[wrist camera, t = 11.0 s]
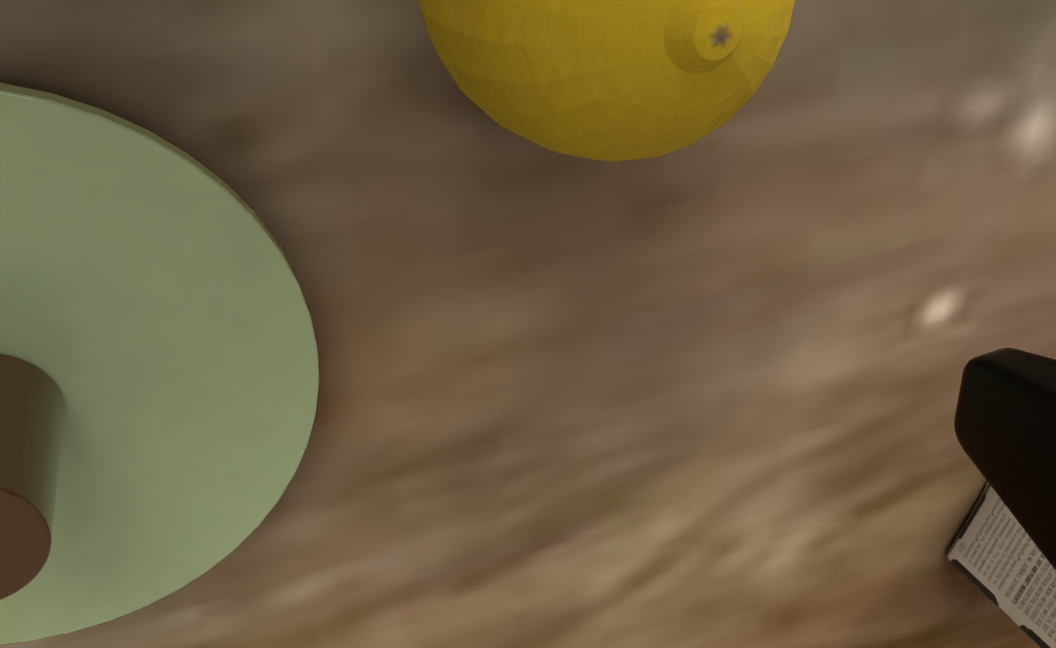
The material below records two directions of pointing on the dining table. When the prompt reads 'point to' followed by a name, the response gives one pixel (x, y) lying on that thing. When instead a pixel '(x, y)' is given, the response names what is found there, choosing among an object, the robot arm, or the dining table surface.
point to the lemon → (608, 67)
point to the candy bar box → (1008, 567)
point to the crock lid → (133, 367)
